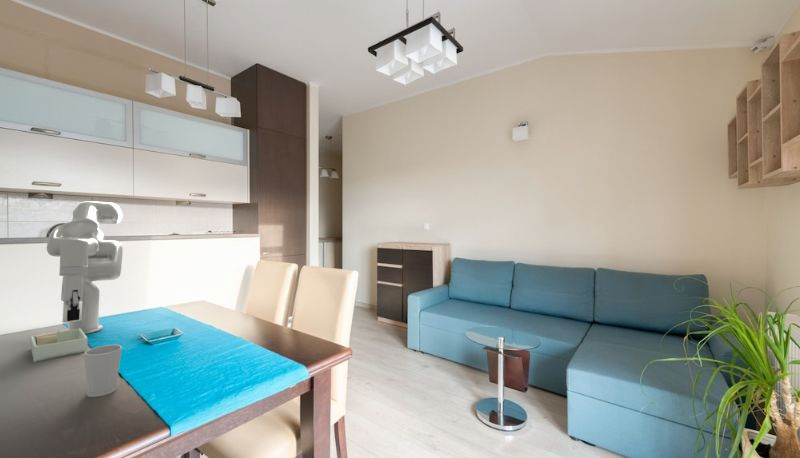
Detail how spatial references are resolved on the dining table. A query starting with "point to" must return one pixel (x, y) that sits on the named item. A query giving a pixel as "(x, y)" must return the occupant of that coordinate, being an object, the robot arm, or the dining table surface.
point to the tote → (60, 345)
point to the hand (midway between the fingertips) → (72, 318)
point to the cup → (102, 369)
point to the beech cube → (46, 339)
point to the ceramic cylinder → (65, 308)
